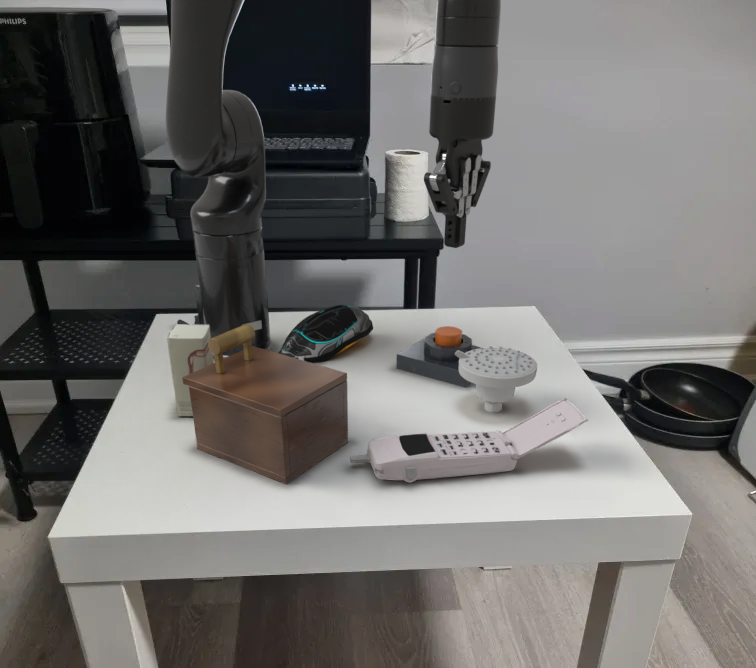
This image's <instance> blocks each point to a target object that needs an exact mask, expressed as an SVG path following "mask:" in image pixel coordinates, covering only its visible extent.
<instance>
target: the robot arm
mask: <svg viewBox="0 0 756 668" xmlns="http://www.w3.org/2000/svg"><path fill="white" fill-rule="evenodd" d="M244 2H245V0H170V49H169V61H168V62H169V63H168V64H169V65H168V77H167V89H166V90H167V91H166V92H167V93H166V104H165V132H166V139H167V144H168V145H167V146H168V148H169V151H170V154H171V156H172V158H173V159H174V160H173V161H174V163H175V164H176V165H177V167H178V168H179V169H180V170H181V171H182V172H183V173H185V174H186V175H187V176H190V177H193V178H195V179H197V178H198V179H200V178H208V180H207V184H206V186H205V189H204V191H203V193H202V194H201V195H200V196H199V198H198V199H197V200H196V201H194V203H193V204H192V206H191V208H190V223H191V230H192V238H193V245H194V246H193V247H194V255H195V261H196V268H197V277H198V282H196V283H195V284H194V295H195V301H196V309H197V315H195V316H194V322H193V324H194V325H209V326H210V336H211V338H214V337H216V336H218V335H221V334H223V333H226V332H228V331H230V330H233V329H235V328H238V327H240V326H242V325H245V324H249V325H251V326H252V327H253V329H254V331H255V337H254V339H252V340H251V344H252V346H254V347H258V348H261V349H265V350H268V351H272V347H273V346H272V344H273V343H272V340H271V328H270V314H269V312H270V311H269V301H268V287H267V275H266V260H265V250H264V249H265V247H264V234H263V223H262V221H263V219H262V217H263V211H264V209H265V204H266V199H267V183H266V180H267V179H266V149H265V148H266V147H265V136H264V135H265V134H264V129H263V125H262V120H261V117H260V115H259V112H258V110H257V108H256V106H255V104H254V103H253V101H252V100H251V98H249V97H248V96H247V95H245V94H244V93H242V92H240V91H238V90H233V89H223V85H224V68H225V67H224V66H225V57H226V51H227V47H228V43H229V41H230V36H231V34H232V32H233V29H234V26H235V25H236V24H235V23H236V21H237V19H238V17H239V14H240V12H241V9H242V7H243V5H244ZM501 2H502V1H501V0H437V1H436V14H435V16H436V17H435V32H434V33H435V34H434V36H435V37H434V51H433V58H432V63H431V65H432V66H431V77H430V78H431V81H430V105H429V129H428V132H429V135H430V136H431V137H432V138H434V139H436V140H437V141H438V146H437V151H436V154H435V163H436V166H435V167H434V169H433V171H432V172H425V173H424V176H423V182H424V185H425V187H426V190H427V193H428V196H429V198H430V201H431V203H432V206H433V209H434V212H435V213H438V214H442V216H444V218H445V221H444V237H443V239H444V240H443V244H444V246H445V247H448V248H453V249H458V248H461V247H462V246H464V245H465V243H466V230H467V218H468V216H469V214H470V212H471V208H475V207H477V205H478V203H479V200H480V197H481V194H482V192H483V189H484V187H485V183H486V181H487V178H488V176H489V173H490V171H491V168H492V161H490V160H484V159H483V157H482V156H483V152H484V151H483V142H482V141H485V140H488V139H490V138H492V136H493V135H494V125H495V114H496V102H497V90H498V78H499V46H498V45H499V39H500V26H501V24H500V23H501V9H502V8H501V7H502V6H501V5H502V4H501ZM176 324H189V323H188V322H186V321H185V320H182V319H181V318H179V319H178V320H177V321H176ZM242 350H244V348H243V344H241V345H239V346H237V347H234V348H232V349H230V350H228V351H225V352H223V359H224V358H226V357H229V356H231V355H233V354H235V353H238V352H240V351H242ZM212 354H213V353H212ZM213 359H215V358H214V354H213Z"/></svg>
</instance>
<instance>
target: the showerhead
mask: <svg viewBox="0 0 756 668" xmlns="http://www.w3.org/2000/svg"><path fill="white" fill-rule="evenodd" d="M480 347H481V348H479V349H473V350H471V351H468V352H466V353H463V352H461V351H459V350H458V351H457V352H455V355H456V356H457V357H458V358H460V359H459V373H460V375H461V376H462V377H463V378H464V379H466V380H467V381H469V382H472V384H473V385H475V391H474V393H475V395H476V396H477V398H479V399H481V400H483V401H484V410H485V411H487V412H489V413H499V412H501V411H502V410H503V403H505V402H509V401H510V400H512V399H513V398H514V397H515V393H516V388H518V387H519V388H520V387H523V386H525V385H529V384H530V383H532V382H533V381H535V378H536V376H537V370H538V362H537V361H536V360H535V358H533V357H532V356H530V355H529V354H527V353H525V352H522V351H520V350H516V349H512V348H511V347H508V348H506V347H502V346H498V347H496V346H495V347H494V346H489V347H483V346H480Z"/></svg>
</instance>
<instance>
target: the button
mask: <svg viewBox="0 0 756 668" xmlns="http://www.w3.org/2000/svg"><path fill="white" fill-rule="evenodd" d="M434 333H435V343H436V344H438V345H442V346H456V345H460V344H461V340H462V334H463V330H462V329H460V328H459V327H457V326H450V325H445V326H440V327H437V328H436V329H435V332H434Z"/></svg>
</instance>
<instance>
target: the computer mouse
mask: <svg viewBox="0 0 756 668" xmlns="http://www.w3.org/2000/svg"><path fill="white" fill-rule="evenodd" d="M373 330H374V325H373V321H372V320H371V319H370V316H369V314H367V313H366V312H365V311H363V310H362V309H361V308H359V307H357V306H352V305H347V304H336V305H333V306H329V307H326V308H324V309H321V310H318V311H315V312H313V313H312V314H310V315H308V316H306V317H305V318H303V319H302V320H300V321H299V322H298V323H297V324H296V325H295V326H294V327H293V328H292V329H291V331H290V332H289V334H288V335H287V336H286V337H285V339H284V341H283V344H282V345H281V348H280V349H279V351H278V352H277V353H279V354H282V355H286V356H289V357H293V358H296V359H298V357H300V356H303V358H304V361H307V362H310V363H321V362H326V361H328V360H331V359H333V358H334V357H335V356H337V355H339V354H341V353H342V352H344V351H346V350H347V349H349V348H350V347H352V346H353V345H355V344H356V343H358V342H359V341H360V340H361V339H363V338H365V337H367V336H369V335H370V334H371V333H372V331H373Z"/></svg>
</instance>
